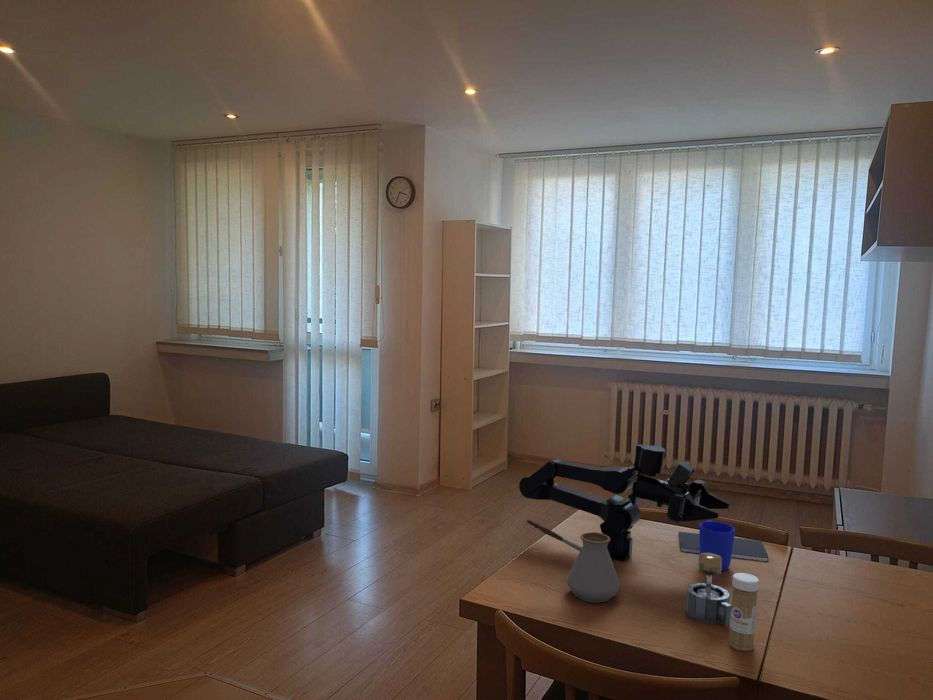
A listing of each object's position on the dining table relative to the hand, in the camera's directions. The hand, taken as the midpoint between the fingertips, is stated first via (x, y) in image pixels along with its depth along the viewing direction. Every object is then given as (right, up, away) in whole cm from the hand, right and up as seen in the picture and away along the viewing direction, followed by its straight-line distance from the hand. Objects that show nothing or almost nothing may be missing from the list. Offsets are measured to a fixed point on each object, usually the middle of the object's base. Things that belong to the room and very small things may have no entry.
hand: (723, 511), depth 159 cm
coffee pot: (-36, -16, -7) cm, 40 cm away
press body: (-9, -18, -17) cm, 26 cm away
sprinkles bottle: (-7, -19, -29) cm, 35 cm away
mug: (+2, -16, +12) cm, 20 cm away
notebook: (+8, -16, +24) cm, 29 cm away
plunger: (-9, -14, -16) cm, 23 cm away
